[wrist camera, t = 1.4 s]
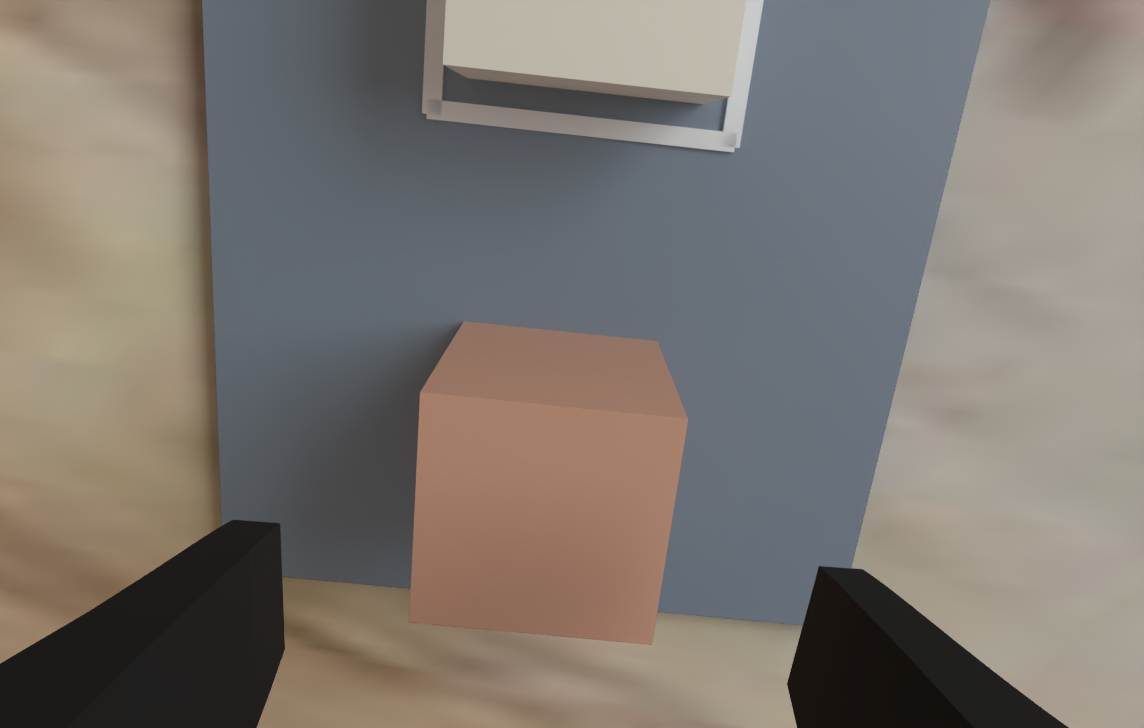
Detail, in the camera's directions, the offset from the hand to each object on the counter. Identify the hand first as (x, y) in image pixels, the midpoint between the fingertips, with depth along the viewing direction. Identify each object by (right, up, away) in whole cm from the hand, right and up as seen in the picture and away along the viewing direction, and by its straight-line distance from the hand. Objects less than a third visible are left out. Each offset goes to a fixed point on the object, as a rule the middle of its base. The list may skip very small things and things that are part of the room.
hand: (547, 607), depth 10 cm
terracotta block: (0, +2, +8) cm, 8 cm away
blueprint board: (0, +7, +7) cm, 10 cm away
